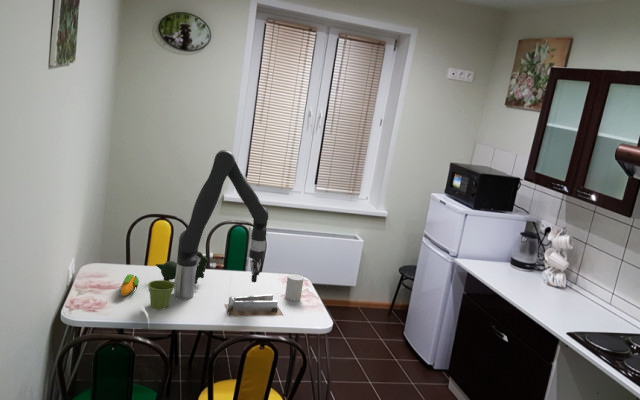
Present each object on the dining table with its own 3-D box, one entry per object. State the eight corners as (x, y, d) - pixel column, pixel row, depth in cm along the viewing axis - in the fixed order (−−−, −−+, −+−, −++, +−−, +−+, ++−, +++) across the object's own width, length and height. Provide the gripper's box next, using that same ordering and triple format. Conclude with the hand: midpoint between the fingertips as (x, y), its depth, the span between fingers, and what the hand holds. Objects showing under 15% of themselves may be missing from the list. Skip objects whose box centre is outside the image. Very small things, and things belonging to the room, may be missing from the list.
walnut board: (229, 317, 249) (229, 315, 248) (224, 306, 260) (224, 304, 260) (283, 317, 258) (283, 315, 258) (276, 305, 270) (276, 304, 270)
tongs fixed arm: (228, 312, 252) (230, 300, 251) (227, 308, 256) (228, 296, 255) (277, 311, 261) (279, 299, 260) (275, 308, 264) (276, 296, 263)
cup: (294, 303, 276) (297, 281, 274) (281, 298, 280) (284, 276, 278) (303, 299, 283) (306, 277, 280) (290, 294, 287) (293, 273, 285)
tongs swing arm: (234, 308, 257) (235, 298, 256) (233, 307, 258) (234, 297, 257) (272, 304, 268) (273, 295, 267) (270, 303, 269) (271, 293, 268)
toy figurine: (202, 284, 288) (154, 276, 283) (209, 250, 285) (160, 242, 280) (201, 291, 279) (151, 283, 274) (208, 256, 275) (158, 247, 271)
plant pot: (171, 314, 244) (174, 290, 242) (144, 312, 241) (146, 288, 239) (173, 303, 255) (175, 280, 253) (147, 302, 253) (149, 279, 251)
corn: (140, 271, 269) (132, 286, 249) (140, 285, 270) (132, 301, 251) (125, 270, 267) (115, 285, 248) (125, 285, 269) (116, 301, 250)
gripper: (247, 243, 269) (243, 276, 272) (252, 252, 257) (249, 286, 260) (261, 244, 271) (258, 276, 275) (268, 252, 259) (264, 286, 263)
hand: (253, 281), depth 268 cm, fingers closed
